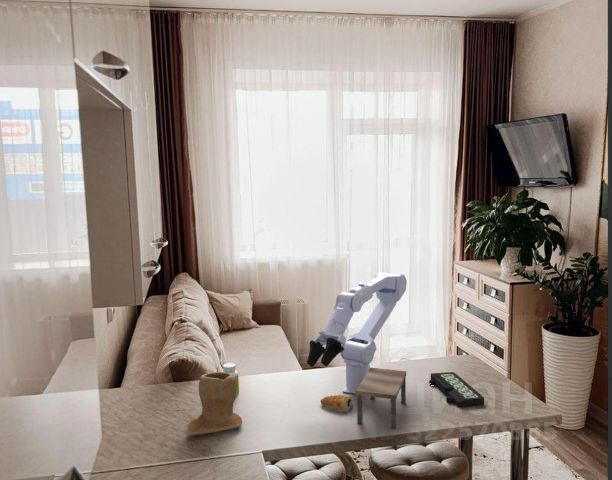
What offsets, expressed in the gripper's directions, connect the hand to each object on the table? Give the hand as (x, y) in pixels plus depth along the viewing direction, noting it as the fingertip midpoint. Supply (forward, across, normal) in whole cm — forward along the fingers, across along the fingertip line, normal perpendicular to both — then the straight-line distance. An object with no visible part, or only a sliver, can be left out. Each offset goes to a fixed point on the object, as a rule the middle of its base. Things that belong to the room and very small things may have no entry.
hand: (316, 364), depth 150 cm
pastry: (+5, -4, +15) cm, 17 cm away
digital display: (-17, +8, +43) cm, 47 cm away
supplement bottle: (+15, -31, -7) cm, 35 cm away
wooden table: (+1, +6, +23) cm, 24 cm away
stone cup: (+28, -14, -12) cm, 33 cm away
